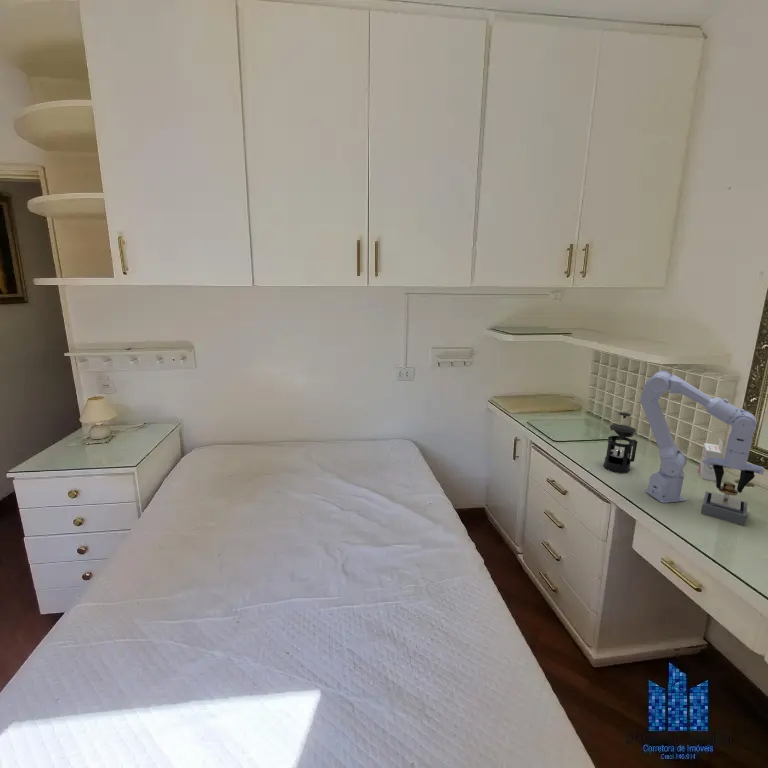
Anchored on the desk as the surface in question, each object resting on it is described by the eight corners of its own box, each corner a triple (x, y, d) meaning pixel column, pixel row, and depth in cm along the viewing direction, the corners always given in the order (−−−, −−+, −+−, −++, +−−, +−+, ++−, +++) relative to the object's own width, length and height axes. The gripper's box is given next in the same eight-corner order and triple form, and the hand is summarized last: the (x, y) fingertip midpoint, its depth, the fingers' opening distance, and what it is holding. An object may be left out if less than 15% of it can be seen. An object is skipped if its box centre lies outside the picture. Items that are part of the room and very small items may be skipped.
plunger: (739, 510, 136) (744, 492, 134) (710, 502, 140) (714, 484, 139) (740, 501, 141) (744, 483, 140) (711, 493, 146) (715, 476, 144)
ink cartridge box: (697, 469, 172) (705, 435, 169) (713, 472, 170) (720, 437, 166) (700, 478, 165) (708, 442, 161) (716, 481, 163) (724, 445, 159)
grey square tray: (744, 526, 134) (746, 516, 133) (700, 513, 141) (702, 503, 140) (744, 511, 143) (747, 502, 142) (703, 500, 149) (705, 491, 148)
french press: (610, 473, 168) (618, 417, 162) (596, 463, 177) (604, 409, 172) (639, 472, 169) (648, 417, 163) (624, 462, 178) (633, 409, 172)
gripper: (763, 450, 136) (753, 489, 140) (707, 441, 143) (699, 479, 146) (770, 458, 130) (759, 499, 134) (711, 449, 137) (702, 488, 140)
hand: (728, 489), depth 140 cm, fingers open, 5 cm apart
